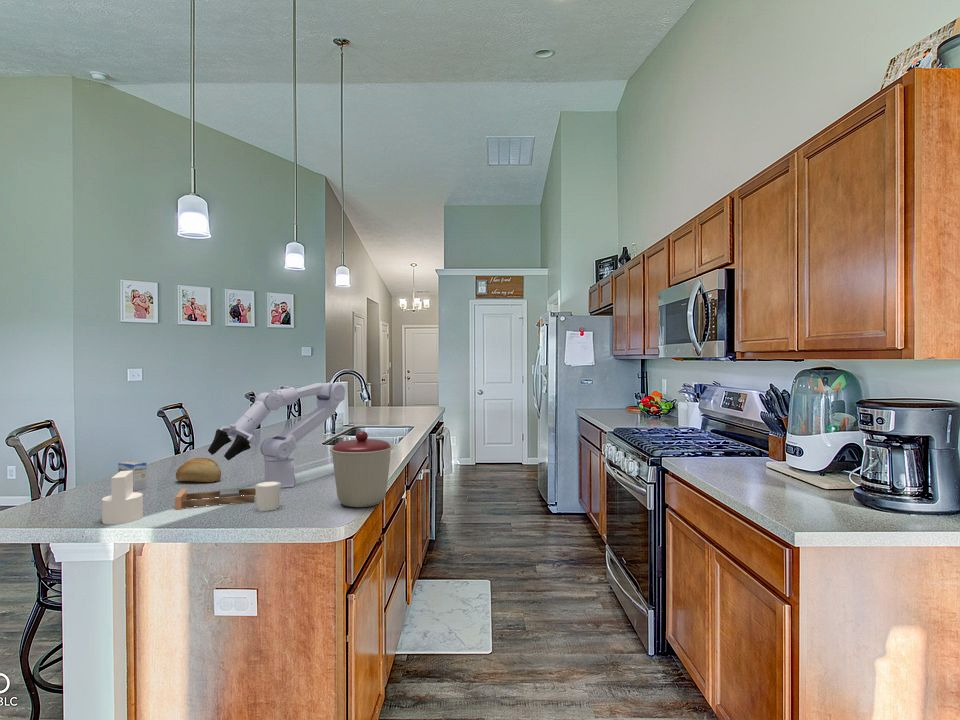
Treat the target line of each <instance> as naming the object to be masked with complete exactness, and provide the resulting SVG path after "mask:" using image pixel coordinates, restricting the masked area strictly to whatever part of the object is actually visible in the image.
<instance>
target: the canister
mask: <svg viewBox="0 0 960 720" xmlns="http://www.w3.org/2000/svg"><path fill="white" fill-rule="evenodd" d="M393 448H394V446H393V444H391V443H390V442H388V441H386V440H382V439H377V438H376V439H375V438H374V439H373V438H369V434H368V433H367V431H365V430H362V431H361V430H360V431H357V432H356V433H355V439H348V440H347V439H346V440H343V441H340V442H336V443H334V444H333V446H331V447H330V448H329V451H330V452H331V454H332V464H333V473H334V480H335V481H334V482H335V488H336V495H337V499H338V501H339V502H340V504H341V505H343V506H346V507H348V508H349V507H350V508H368V507H373V506H376V505H377V506H378V504H381V503H382V502H383V501H384V499H385V498H386V496H387V495H386V494H387V490H388V489H387V488H388V480H389V474H390V473H389V471H390V462H391V451H392V450H393Z"/></svg>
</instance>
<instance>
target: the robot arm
mask: <svg viewBox="0 0 960 720" xmlns="http://www.w3.org/2000/svg"><path fill="white" fill-rule="evenodd" d="M345 388H346V387H345V386H344V385H343V383H341V382H340V383H339V382H336V383H335V382H316V383H313V384H308V385H306V386H303V387H299V388H295V387H293V386H290V385H286V386H283V388H281V389H271V392H261V393H260V394H257V395H256V396H255V398H254V402H253V404H252V405H250V407H249V408H248V409H247V410H246V411H245V412H244V414H243V415H242V416H241V417H240V418H239V419H238V420H236V422H235V423H234V424H232V423H230V424H229V425H228V426H223V425H222V426H221V427H220V428H217V429H216V430H215V434H214V438H213V439H212V442H211V444H210V446H209V448H207V452H208V453H210V455H211V456H214V455H215V454H217V452H218V451H219V450H221V448H223V447H224V446H226V445H228V444H229V443H231V442H232V441H233V443H232V444H231V445H230V447H229V448H228V449H227V451H225V454H223V457H224V458H225V459H226V461H230V460H232V459H233V458H235V457H236V456H237V455H239V454H241V453H244V452H245V451H247V450H250V449H251V448H252V447H251V445H253V444H254V443H255V442H256V440H257V438H256V436H254V435H253V432H254V431H255V430H256V429H257V428H258V427H259V425H260V424H261V423H262V422H263V421H264V420H265V419H266V418H267V417H268V415H270V414H271V412H272V411H277V410H279V409H280V408H282V407H286V406H290V405H293V404H296V403H297V402H298V400H299V399H301V398H306V397H311V396H315V397H316V406H317V408H315V409H314V410H313V411H311V412H310V413H308V414H307V415H305V416H304V417H303V418H301V419H300V420H299V421H298V422H296V423H295V424H293V425H291V427H289V428H288V429H287V430H285V431H283V432H280V433H277V434H275V435H273V436H271V437H267V438H264V439H263V440H262V441H261V443H260V445H259V451H260V453H261V455H262V456H263V459H264V461H263V462H264V482H269V481H277V482H280V483H281V488H282V489H283V488H294V487H295V481H296V475H295V459H294V457H293V458H289V457H290V456H291V454H292V452H293V451H294V450H295V449H297V443H298V442H299V441H300V440H302V439H303V438H305V437H306V436H308V435H309V434H310V433H311V432H312V431H315V429H316V428H317V427H319V426H321V425H322V424H323V423H324V422H326V421H327V420H328V419H329V418H331V417H332V416H333V415H334V413H335V412H336V410H337V408H338V407H339V405H340V403H341V402H343V401H344V400H345V396H346V389H345ZM230 437H232V438H234V440H232V439H231V438H230ZM250 444H251V445H250ZM281 488H280V489H281Z"/></svg>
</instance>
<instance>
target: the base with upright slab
mask: <svg viewBox="0 0 960 720" xmlns="http://www.w3.org/2000/svg"><path fill="white" fill-rule="evenodd" d="M110 480H111V481H110V482H111V483H110V484H111V485H110V486H111V489H110V490H111V493H110V495H107V496H104V497H102V499H101V518H102V519H101V520H102V521H101V522H103V524H104V525H123V524H129V523H133V522H136V521H139V520H141V519H142V518H143V517H144V505H143V503H144V498H143V493H142V492H138V491H133V470H131V471H120V472H119V473H118V472H117V473H116V474H115V475H113V476H111V479H110ZM141 517H142V518H141ZM140 518H141V519H140ZM138 519H139V520H138ZM135 520H136V521H135Z"/></svg>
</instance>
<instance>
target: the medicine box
mask: <svg viewBox="0 0 960 720" xmlns="http://www.w3.org/2000/svg"><path fill="white" fill-rule="evenodd" d="M131 470H133V492H138V491H142V490H145V488H146V489H147V488H148V487H147V482H148V481H147V474H148V473H147V471H148V470H147V462H141V461H133V460H126V461H122V462H118V464H117V473H119V472H120V471H131ZM141 489H142V490H141ZM137 490H138V491H137Z"/></svg>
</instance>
